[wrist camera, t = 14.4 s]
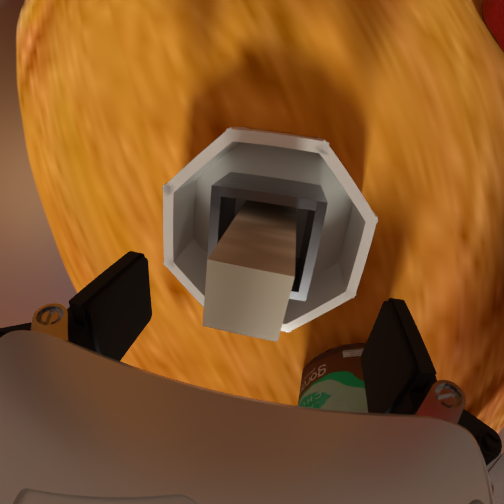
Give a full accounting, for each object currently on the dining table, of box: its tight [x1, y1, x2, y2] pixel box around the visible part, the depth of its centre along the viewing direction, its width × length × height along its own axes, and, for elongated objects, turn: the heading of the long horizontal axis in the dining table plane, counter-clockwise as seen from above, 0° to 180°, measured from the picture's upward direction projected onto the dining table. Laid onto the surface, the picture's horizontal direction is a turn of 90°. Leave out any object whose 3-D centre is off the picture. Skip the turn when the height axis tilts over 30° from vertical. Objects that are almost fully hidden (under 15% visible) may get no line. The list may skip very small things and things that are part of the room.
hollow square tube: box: [207, 172, 328, 301], centre depth 16 cm, size 6×6×4 cm
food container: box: [298, 343, 368, 413], centre depth 20 cm, size 12×6×10 cm, turn 169°
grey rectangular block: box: [203, 200, 297, 342], centre depth 14 cm, size 3×3×9 cm
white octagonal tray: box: [162, 127, 379, 333], centre depth 17 cm, size 11×11×4 cm
